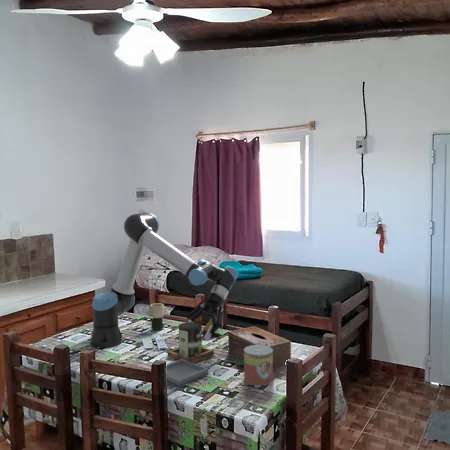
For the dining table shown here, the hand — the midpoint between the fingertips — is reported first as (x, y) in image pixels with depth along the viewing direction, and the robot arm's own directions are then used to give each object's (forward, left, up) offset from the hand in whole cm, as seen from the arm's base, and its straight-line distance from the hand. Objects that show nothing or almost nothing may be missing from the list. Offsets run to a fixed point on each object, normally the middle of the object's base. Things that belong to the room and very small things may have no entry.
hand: (194, 336), depth 209 cm
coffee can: (-1, -2, -9) cm, 9 cm away
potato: (-15, +26, -9) cm, 31 cm away
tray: (+11, -19, -9) cm, 24 cm away
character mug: (-43, +14, -9) cm, 46 cm away
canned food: (+37, -2, -9) cm, 38 cm away
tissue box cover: (+23, +16, -9) cm, 30 cm away
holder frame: (-1, -2, -9) cm, 9 cm away
